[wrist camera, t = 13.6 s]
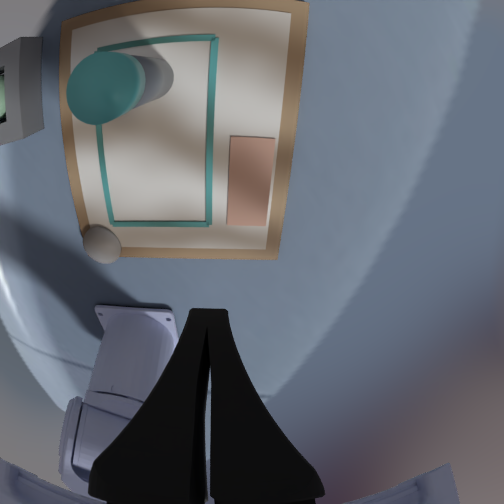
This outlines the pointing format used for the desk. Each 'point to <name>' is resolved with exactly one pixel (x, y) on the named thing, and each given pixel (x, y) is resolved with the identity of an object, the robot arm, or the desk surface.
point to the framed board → (189, 129)
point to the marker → (115, 85)
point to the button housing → (21, 88)
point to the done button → (2, 98)
